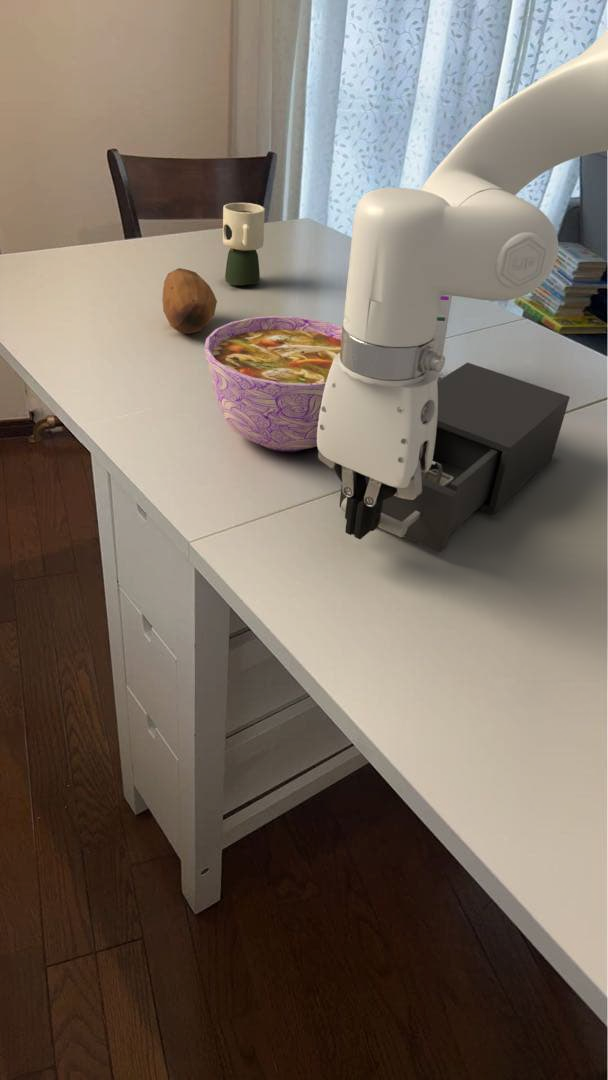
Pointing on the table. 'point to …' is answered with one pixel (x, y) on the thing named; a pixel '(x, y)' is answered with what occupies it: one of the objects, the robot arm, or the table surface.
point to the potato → (187, 301)
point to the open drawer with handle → (443, 492)
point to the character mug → (243, 241)
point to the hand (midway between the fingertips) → (360, 529)
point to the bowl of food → (273, 377)
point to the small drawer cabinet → (502, 423)
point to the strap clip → (438, 476)
